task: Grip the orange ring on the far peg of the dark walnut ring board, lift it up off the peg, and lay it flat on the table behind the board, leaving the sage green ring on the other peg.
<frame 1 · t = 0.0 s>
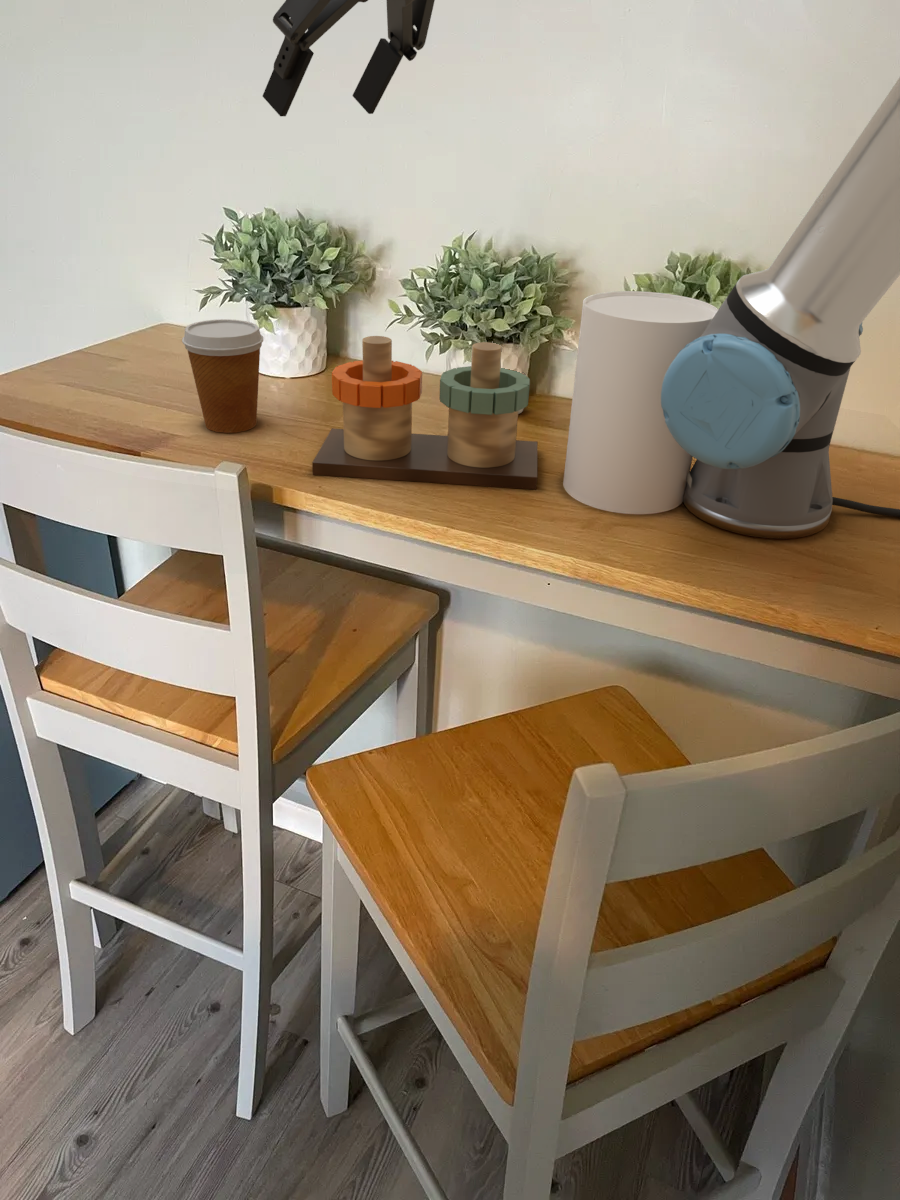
hand: (320, 105, 91), 36 cm above the table, tool tilted 35°, fingers open, 13 cm apart
supplement bottle: (503, 411, 122), on the table
orange ring: (377, 393, 101), point 8 cm above the table, touching ring board
ring board: (428, 463, 104), on the table
sage ring: (484, 399, 100), point 8 cm above the table, touching ring board
disposable coffee cup: (231, 425, 113), on the table
canister: (623, 490, 101), on the table, touching arm
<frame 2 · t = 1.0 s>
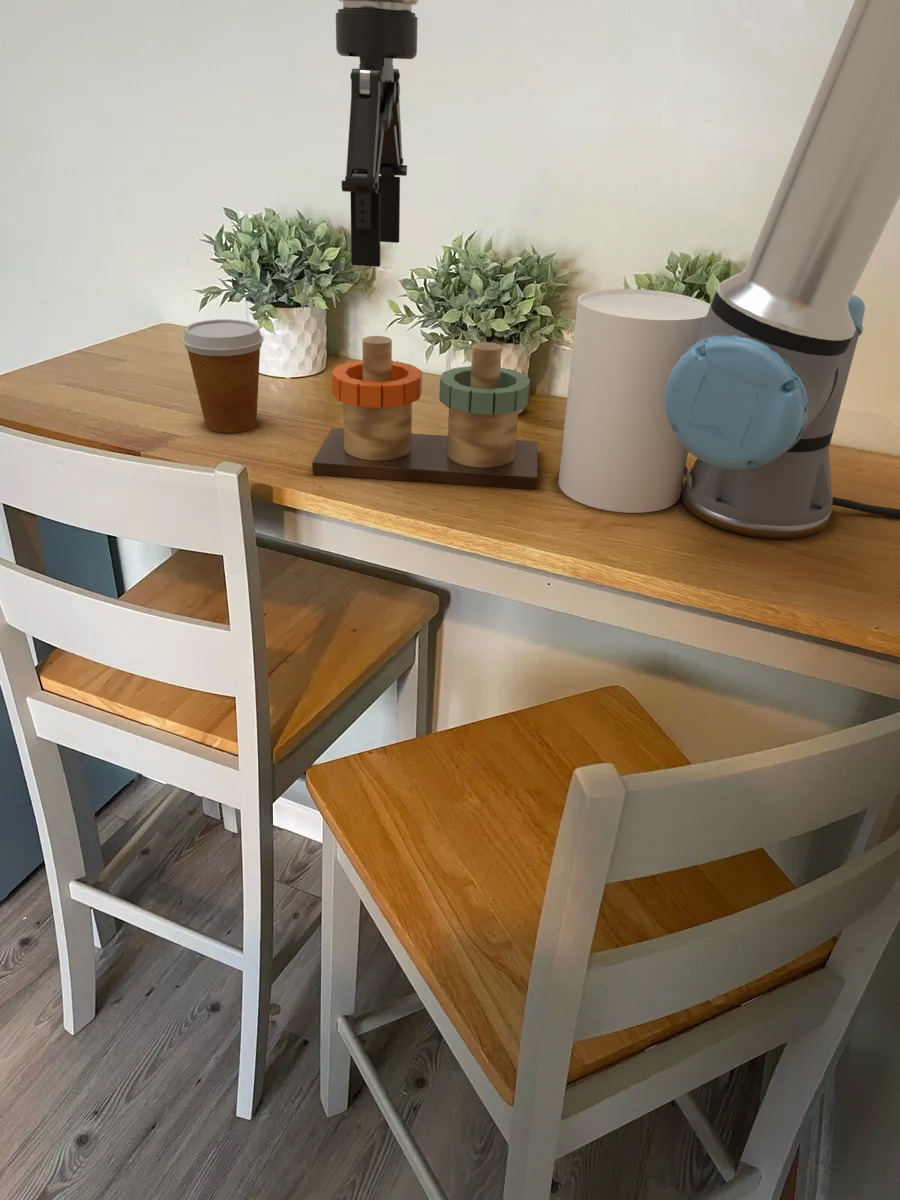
hand: (377, 253, 93), 23 cm above the table, tool pointing down, fingers open, 13 cm apart
canister: (618, 488, 101), on the table
everything else where it was.
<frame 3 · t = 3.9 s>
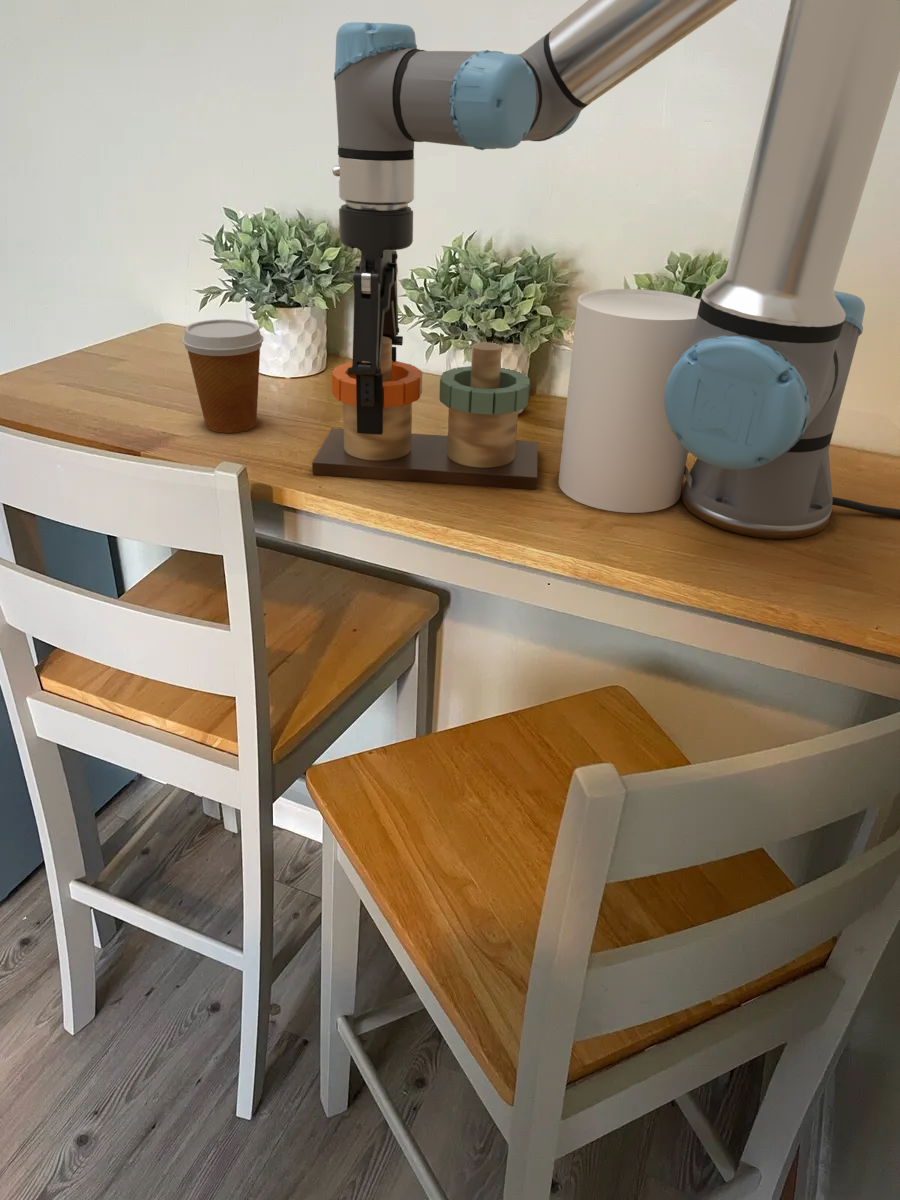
hand: (377, 416, 102), 5 cm above the table, tool pointing down, fingers closed on orange ring, 10 cm apart
orange ring: (377, 393, 101), point 8 cm above the table, touching gripper, ring board
everything else where it was.
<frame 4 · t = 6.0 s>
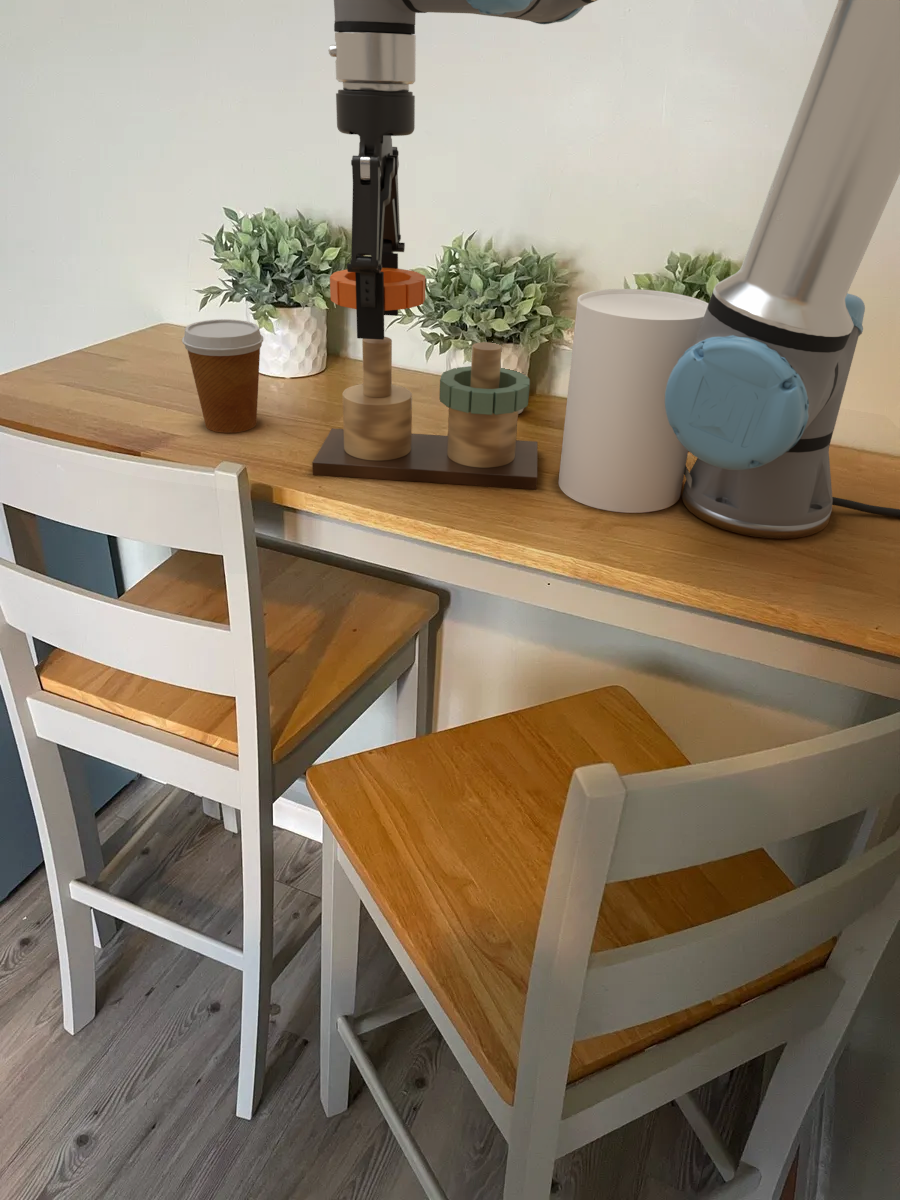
hand: (378, 325, 97), 16 cm above the table, tool pointing down, fingers closed on orange ring, 10 cm apart
orange ring: (378, 299, 95), point 18 cm above the table, touching gripper
everything else where it was.
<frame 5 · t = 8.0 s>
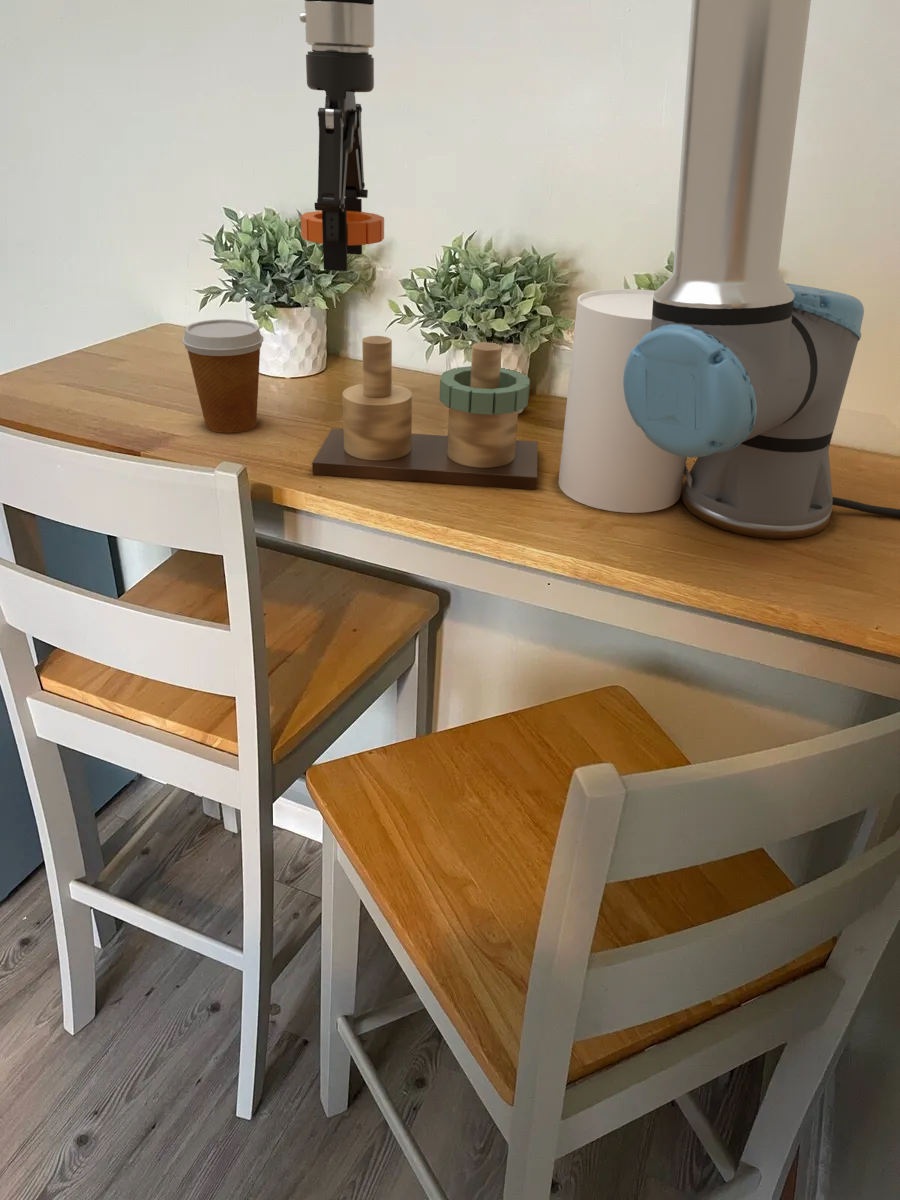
hand: (343, 261, 111), 19 cm above the table, tool pointing down, fingers closed on orange ring, 10 cm apart
orange ring: (343, 237, 110), point 21 cm above the table, touching gripper
everything else where it was.
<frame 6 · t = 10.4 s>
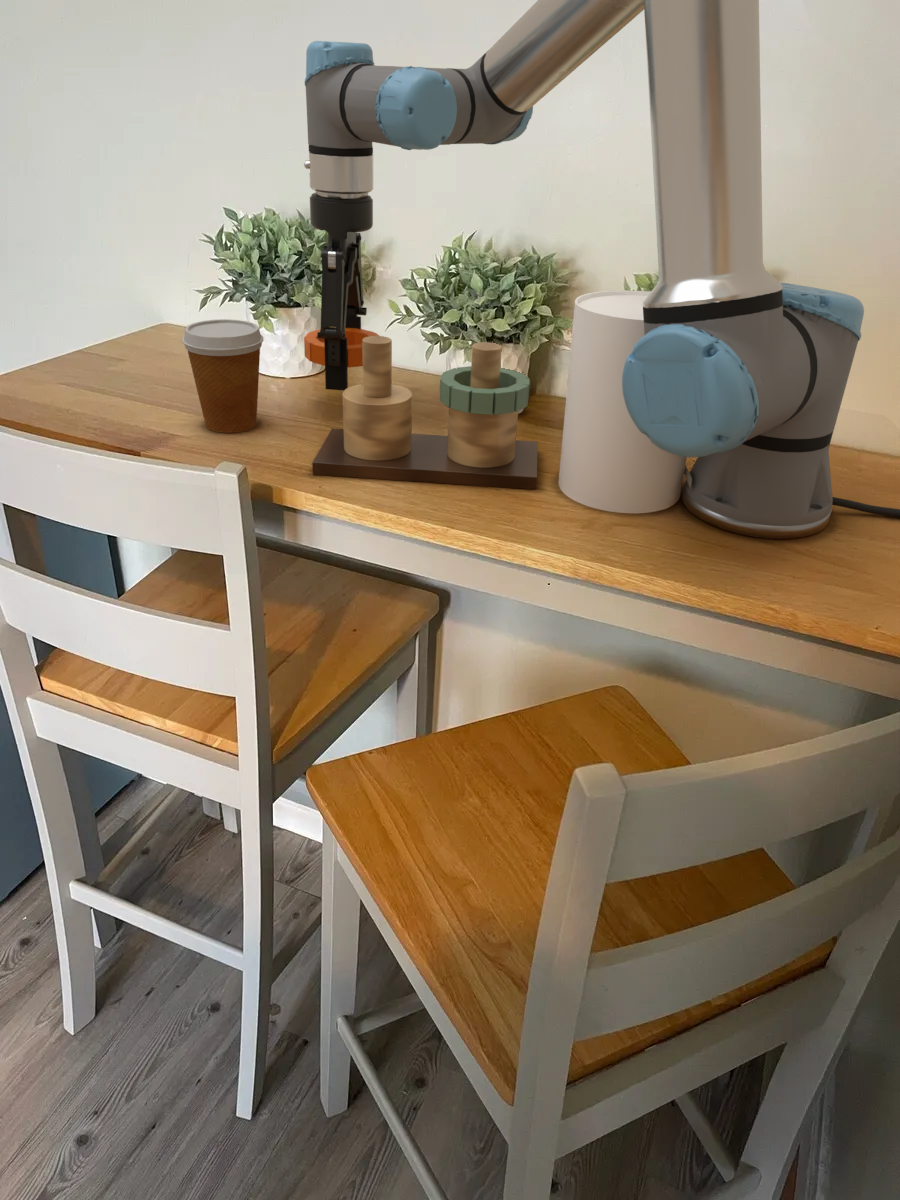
hand: (344, 376, 119), 4 cm above the table, tool pointing down, fingers closed on orange ring, 10 cm apart
orange ring: (343, 355, 117), point 7 cm above the table, touching gripper
canister: (618, 489, 101), on the table, touching arm
everything else where it was.
when the fingers open (1 cm above the table, at t = 12.5 s): orange ring drops 3 cm, on the table.
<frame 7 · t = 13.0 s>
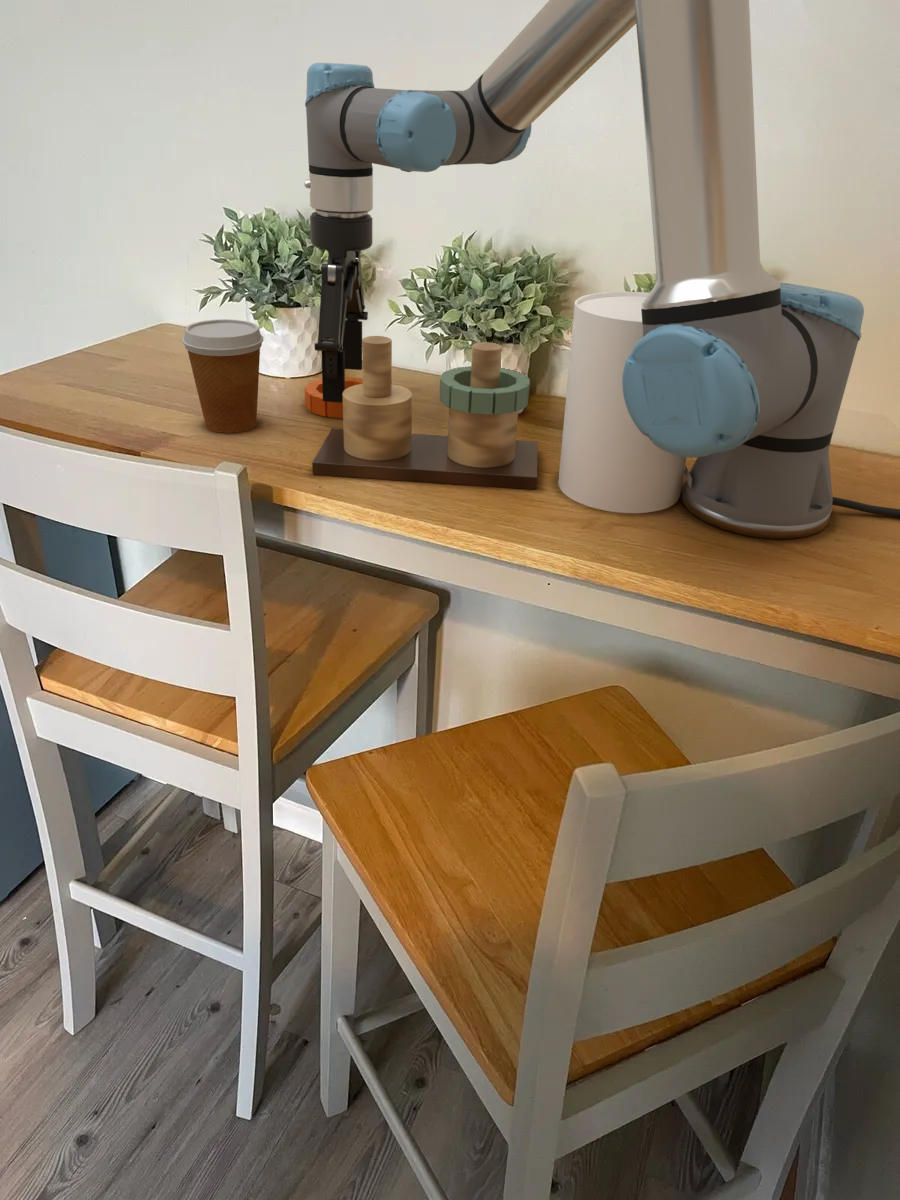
hand: (343, 384, 119), 3 cm above the table, tool pointing down, fingers open, 13 cm apart
orange ring: (342, 405, 121), on the table
everything else where it was.
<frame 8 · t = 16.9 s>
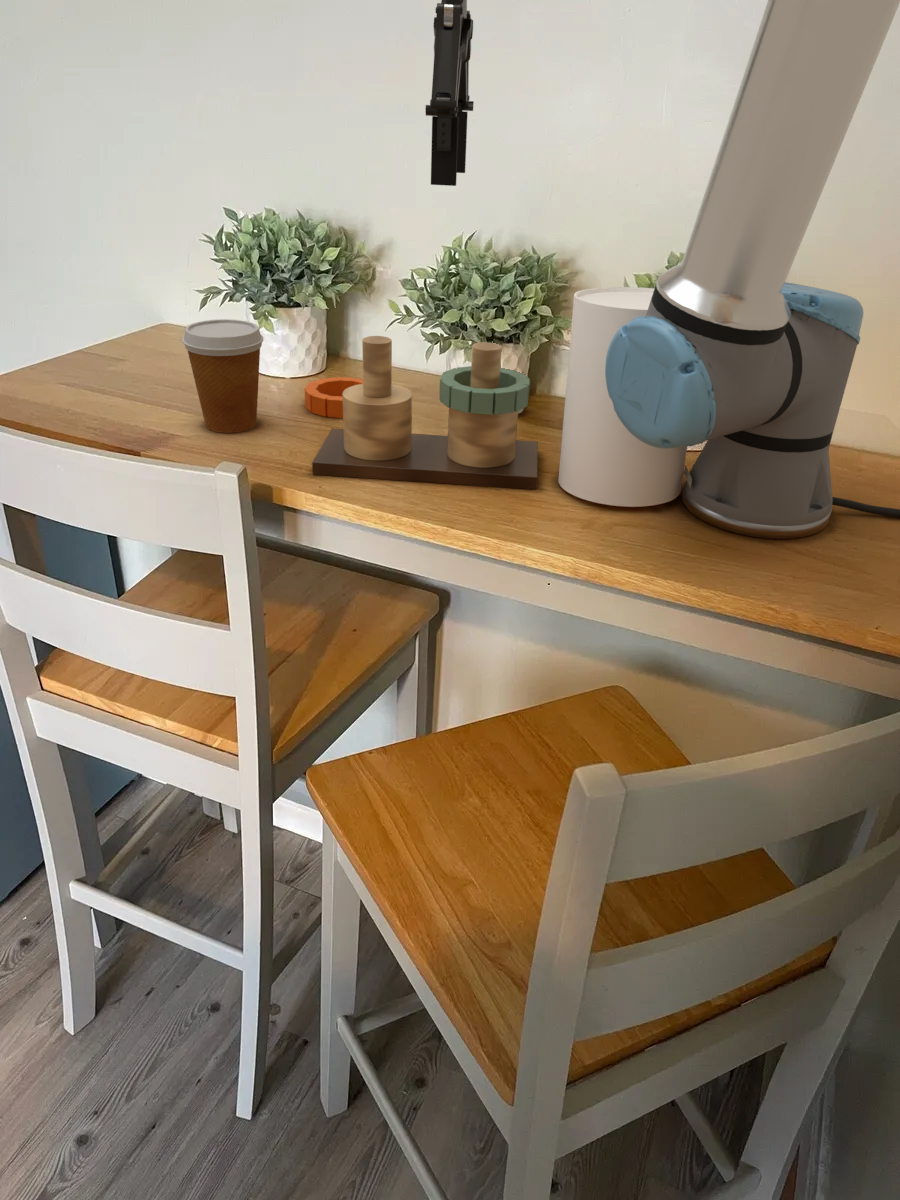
hand: (448, 178, 103), 29 cm above the table, tool pointing down, fingers open, 13 cm apart
at the end: orange ring inside the target area (0.6 cm from its centre), on the table; orange ring tilted 0°; sage ring moved 0.0 cm from its start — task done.
